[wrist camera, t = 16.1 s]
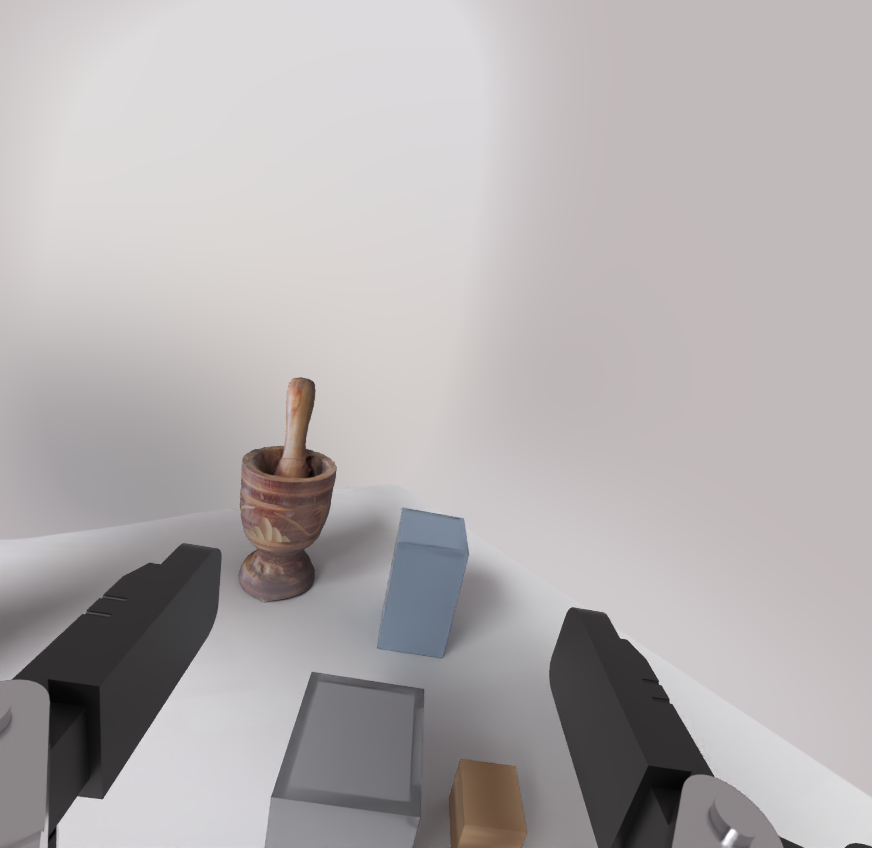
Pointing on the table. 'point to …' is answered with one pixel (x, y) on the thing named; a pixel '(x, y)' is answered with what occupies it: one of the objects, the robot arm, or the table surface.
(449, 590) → the light blue box
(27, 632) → the table surface
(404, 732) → the cover
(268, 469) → the mortar and pestle
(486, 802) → the brown cube
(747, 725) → the table surface
